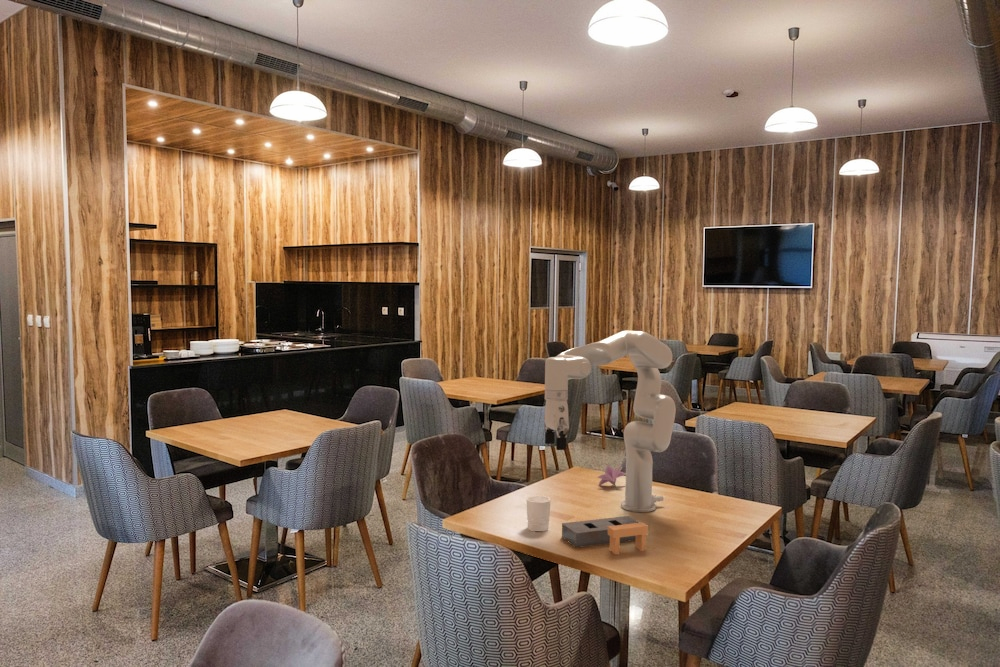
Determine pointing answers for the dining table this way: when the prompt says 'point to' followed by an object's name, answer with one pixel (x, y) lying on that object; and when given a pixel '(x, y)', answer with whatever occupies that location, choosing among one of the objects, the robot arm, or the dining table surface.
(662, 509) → the dining table surface
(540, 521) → the white cup
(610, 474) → the lily
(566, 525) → the grey slotted block
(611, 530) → the orange arch block
